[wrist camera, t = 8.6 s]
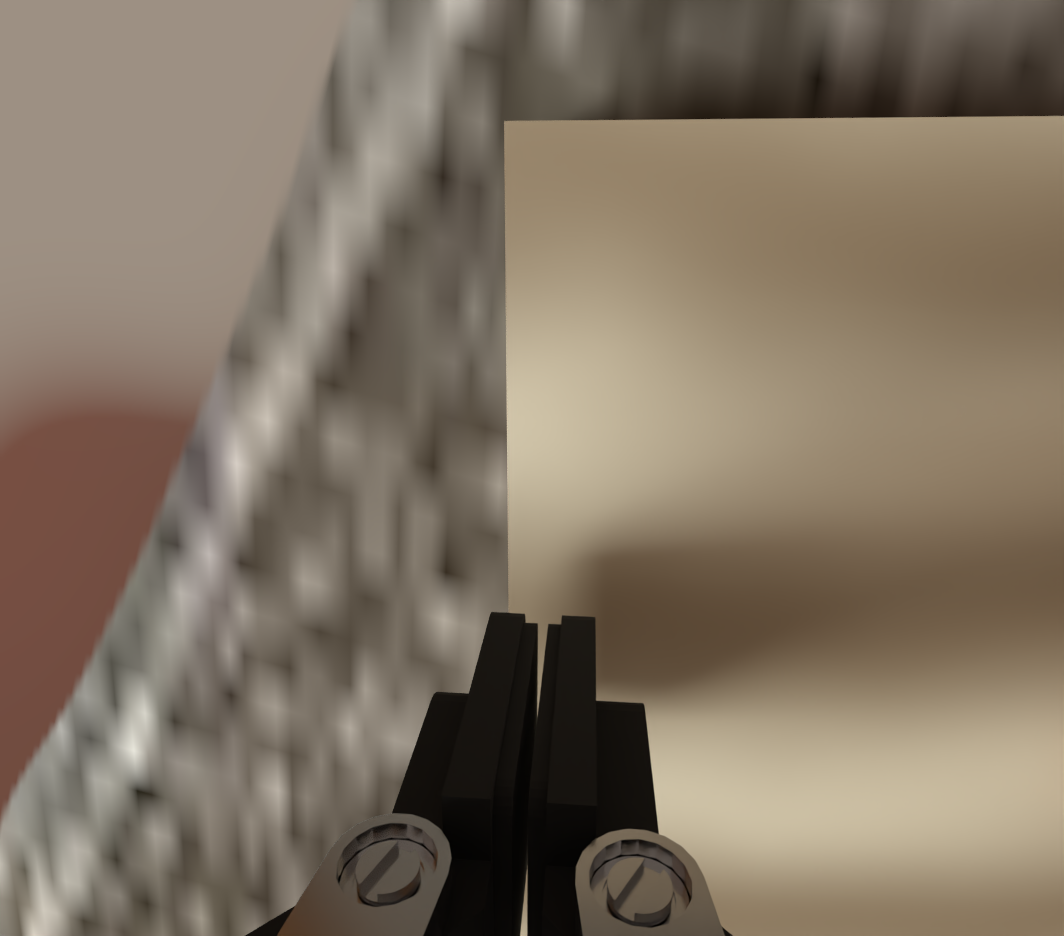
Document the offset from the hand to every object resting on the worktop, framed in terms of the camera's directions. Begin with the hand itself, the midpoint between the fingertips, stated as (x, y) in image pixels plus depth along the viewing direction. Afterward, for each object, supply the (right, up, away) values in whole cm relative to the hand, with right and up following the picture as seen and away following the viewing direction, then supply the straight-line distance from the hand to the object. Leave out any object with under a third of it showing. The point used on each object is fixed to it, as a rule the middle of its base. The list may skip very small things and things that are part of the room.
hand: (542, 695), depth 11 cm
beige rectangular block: (+5, +2, +5) cm, 7 cm away
